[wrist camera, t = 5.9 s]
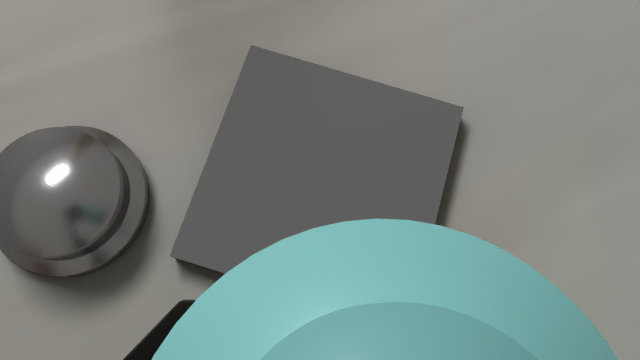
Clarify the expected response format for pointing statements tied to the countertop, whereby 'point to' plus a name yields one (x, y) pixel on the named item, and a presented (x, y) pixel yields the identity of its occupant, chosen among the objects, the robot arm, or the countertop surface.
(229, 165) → the mat
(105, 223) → the metal domed disc
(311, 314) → the teal cylinder
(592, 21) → the countertop surface
